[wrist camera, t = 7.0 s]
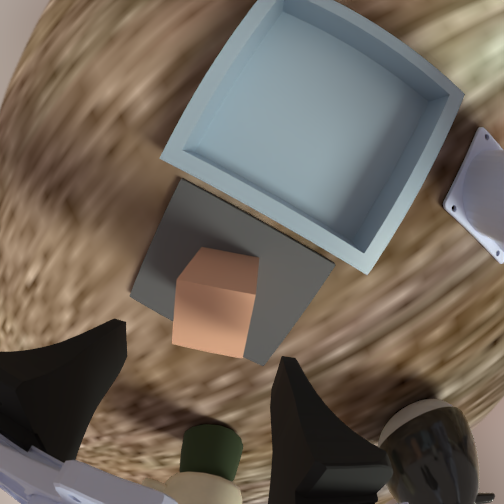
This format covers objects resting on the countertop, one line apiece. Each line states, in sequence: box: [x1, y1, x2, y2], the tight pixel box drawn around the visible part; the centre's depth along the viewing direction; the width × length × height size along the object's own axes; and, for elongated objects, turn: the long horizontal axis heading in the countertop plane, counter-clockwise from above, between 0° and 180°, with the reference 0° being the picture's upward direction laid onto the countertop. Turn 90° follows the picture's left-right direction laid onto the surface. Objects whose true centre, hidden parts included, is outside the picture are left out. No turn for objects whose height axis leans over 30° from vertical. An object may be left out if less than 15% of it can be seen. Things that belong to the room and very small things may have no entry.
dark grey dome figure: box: [378, 399, 495, 504], centre depth 18 cm, size 10×10×15 cm
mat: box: [130, 179, 335, 366], centre depth 21 cm, size 12×10×1 cm
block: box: [172, 247, 259, 359], centre depth 18 cm, size 4×4×6 cm
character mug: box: [142, 424, 243, 504], centre depth 21 cm, size 11×7×13 cm, turn 61°
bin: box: [160, 0, 465, 275], centre depth 16 cm, size 14×14×4 cm
